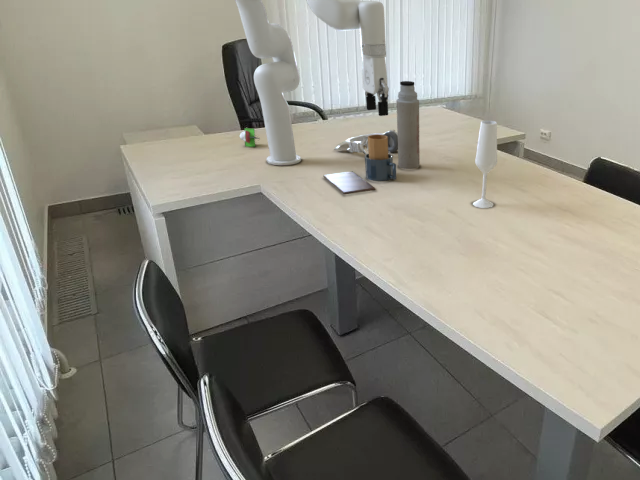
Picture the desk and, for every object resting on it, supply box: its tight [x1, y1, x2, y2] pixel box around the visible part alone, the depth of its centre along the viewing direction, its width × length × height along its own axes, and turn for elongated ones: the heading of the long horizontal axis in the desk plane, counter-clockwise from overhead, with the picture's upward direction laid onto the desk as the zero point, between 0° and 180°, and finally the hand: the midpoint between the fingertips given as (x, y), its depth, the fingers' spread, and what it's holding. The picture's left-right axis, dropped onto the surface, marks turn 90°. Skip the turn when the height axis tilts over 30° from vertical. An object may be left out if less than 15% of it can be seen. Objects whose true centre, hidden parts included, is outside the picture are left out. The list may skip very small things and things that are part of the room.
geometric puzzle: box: [239, 127, 261, 148], centre depth 214 cm, size 7×7×8 cm
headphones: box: [333, 129, 398, 156], centre depth 213 cm, size 22×8×22 cm
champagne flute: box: [472, 120, 498, 209], centre depth 163 cm, size 7×7×24 cm
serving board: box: [322, 170, 376, 195], centre depth 182 cm, size 20×11×1 cm, turn 30°
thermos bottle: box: [396, 80, 421, 170], centre depth 191 cm, size 8×8×28 cm
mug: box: [364, 153, 398, 182], centre depth 185 cm, size 13×10×8 cm
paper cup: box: [367, 135, 389, 160], centre depth 184 cm, size 7×7×13 cm
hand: (377, 112), depth 175 cm, fingers open, 9 cm apart
